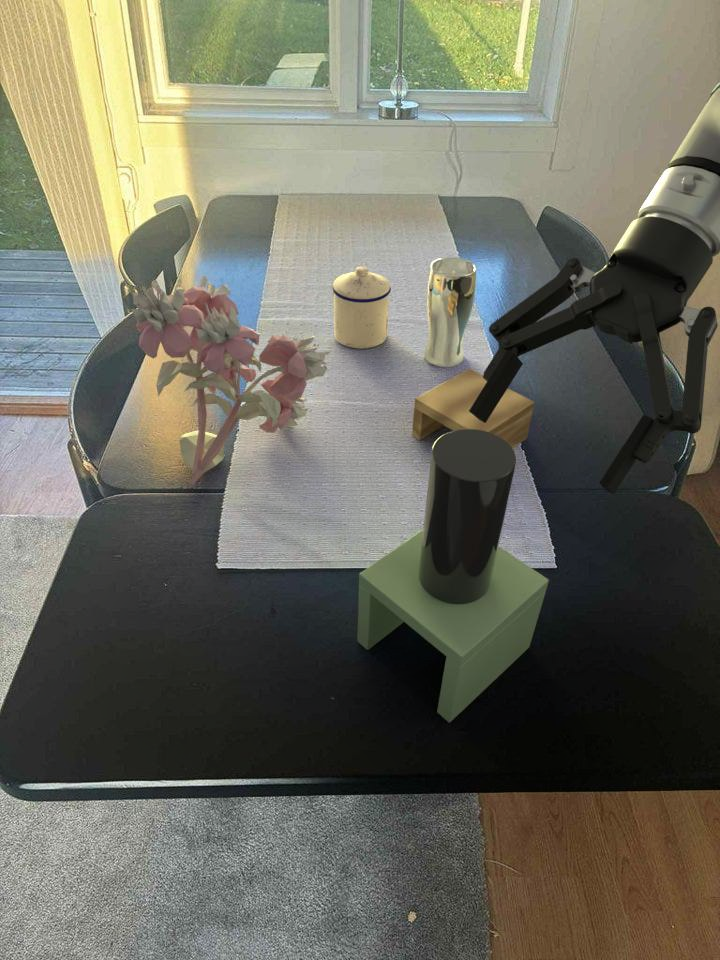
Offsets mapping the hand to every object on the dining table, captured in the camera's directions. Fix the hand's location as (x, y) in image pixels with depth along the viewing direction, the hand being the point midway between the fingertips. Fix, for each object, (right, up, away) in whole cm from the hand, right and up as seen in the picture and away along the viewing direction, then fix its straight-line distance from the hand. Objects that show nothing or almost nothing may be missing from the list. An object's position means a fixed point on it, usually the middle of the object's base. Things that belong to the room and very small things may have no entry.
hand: (537, 451), depth 61 cm
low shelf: (-1, +3, +33) cm, 33 cm away
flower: (-30, +3, +32) cm, 44 cm away
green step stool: (-7, -19, +8) cm, 21 cm away
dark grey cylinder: (-7, -11, +1) cm, 13 cm away
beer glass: (-2, +17, +49) cm, 52 cm away
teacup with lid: (-16, +22, +54) cm, 61 cm away
